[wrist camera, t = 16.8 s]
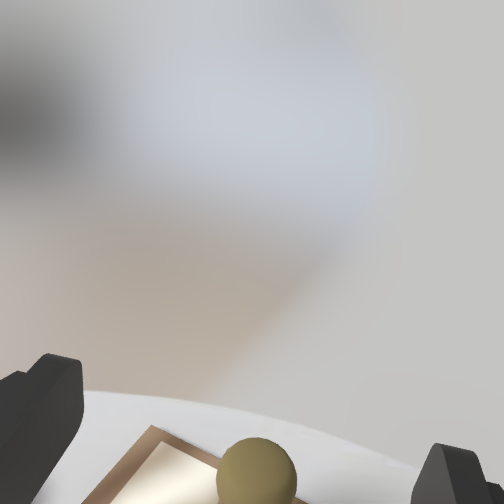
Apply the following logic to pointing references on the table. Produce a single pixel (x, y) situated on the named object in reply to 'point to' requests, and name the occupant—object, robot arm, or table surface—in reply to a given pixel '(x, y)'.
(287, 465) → the cork
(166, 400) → the table surface
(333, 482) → the table surface
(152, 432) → the brown picture frame
